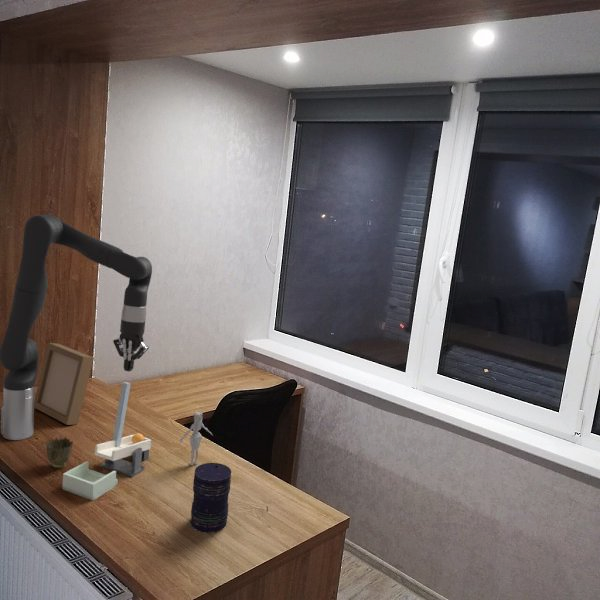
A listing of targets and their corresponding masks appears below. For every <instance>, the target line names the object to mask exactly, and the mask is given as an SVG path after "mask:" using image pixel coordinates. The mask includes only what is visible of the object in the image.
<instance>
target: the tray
mask: <svg viewBox="0 0 600 600" xmlns="http://www.w3.org/2000/svg"><path fill="white" fill-rule="evenodd" d="M89 465H90V463H89V461H87V460H86V461H85V462H83V463H81V464H79V465H76V466H75V467H73V468H71V469H69V470H67V471H66V472H64V473H62V490H64V491H66V492H69V493H72V494H74V495H77V496H79V497H82V498H85V499H87V500H90V501H92V502H93V501H95V500H96V499H98V498H99V497H101V496H103V495H105V494H106V493H107V492H109V491H111V490H112V489H114V488H115V487H117V486H118V483H119V482H118V478H117V472H116V471H112V470H111V472H109V473H107V474H104V473H102V472H98V471H96V470H93V469H89Z"/></svg>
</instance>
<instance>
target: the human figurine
mask: <svg viewBox="0 0 600 600" xmlns="http://www.w3.org/2000/svg"><path fill="white" fill-rule="evenodd" d="M193 421H194V422H193V423H192V424H191V425H190V427H189V430H188V431H186V432H185V434H184V435H183V436H182V437H180V440H178V441H179V443H182V442H183V440H184V438H186V437H187V436H188V435H189V434H190V432H191V431H192V433H191V435H190V438H189V443H190V447H191V451H190V452H191V454H190V455H191V456H190V458H191V459H190V462H188V465H189V466H191V467H192V466H193V467H194V465H195V466H197V465H198V458H199V448H200V446H201V442H202V439H203V437H202V434H201V433H200V432H199V431H201V429H202V428H203V429H204V430H205V431H206V432H208V433H210V435H211V436H213V433H212V432H211V431H210V430H209V429H208V427H205V425H204V423H203V412H198V411H196V412H194V413H193ZM194 458H195V459H194Z"/></svg>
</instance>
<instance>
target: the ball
mask: <svg viewBox="0 0 600 600" xmlns="http://www.w3.org/2000/svg"><path fill="white" fill-rule="evenodd" d="M134 434H135V435H134ZM134 434H133V435H134V436H133V437H132V442H133V443H134V444H135V443H139V442H142V441H143V440H144V435H143V434H142V433H139V432H137V433H134Z"/></svg>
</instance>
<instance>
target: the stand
mask: <svg viewBox="0 0 600 600" xmlns="http://www.w3.org/2000/svg"><path fill="white" fill-rule="evenodd" d="M112 440H113V438H111V439H110V440H109V441H112ZM130 457H131V458H132V462H130V461H128V460H124V459H123V458H121V459H118V460H115V461H111V460H108V459H105V458H104V462H101V464H100V467H101V468H104V469H106V470H108V471H109V470H110V471H111V472H112V471H116V473H118V474H121V475H124V476H127V477H130V478H134V477H135V476H137V475H138V474H140V473H141V472H143V471H144V470H146V469H145V468H146V467H145V466H142V462H145V461H147V460H149V457H150V449H148V450H145V451H142V448H140V447H139V448H138V449H136V450H134V451H133V455H130Z"/></svg>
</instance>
